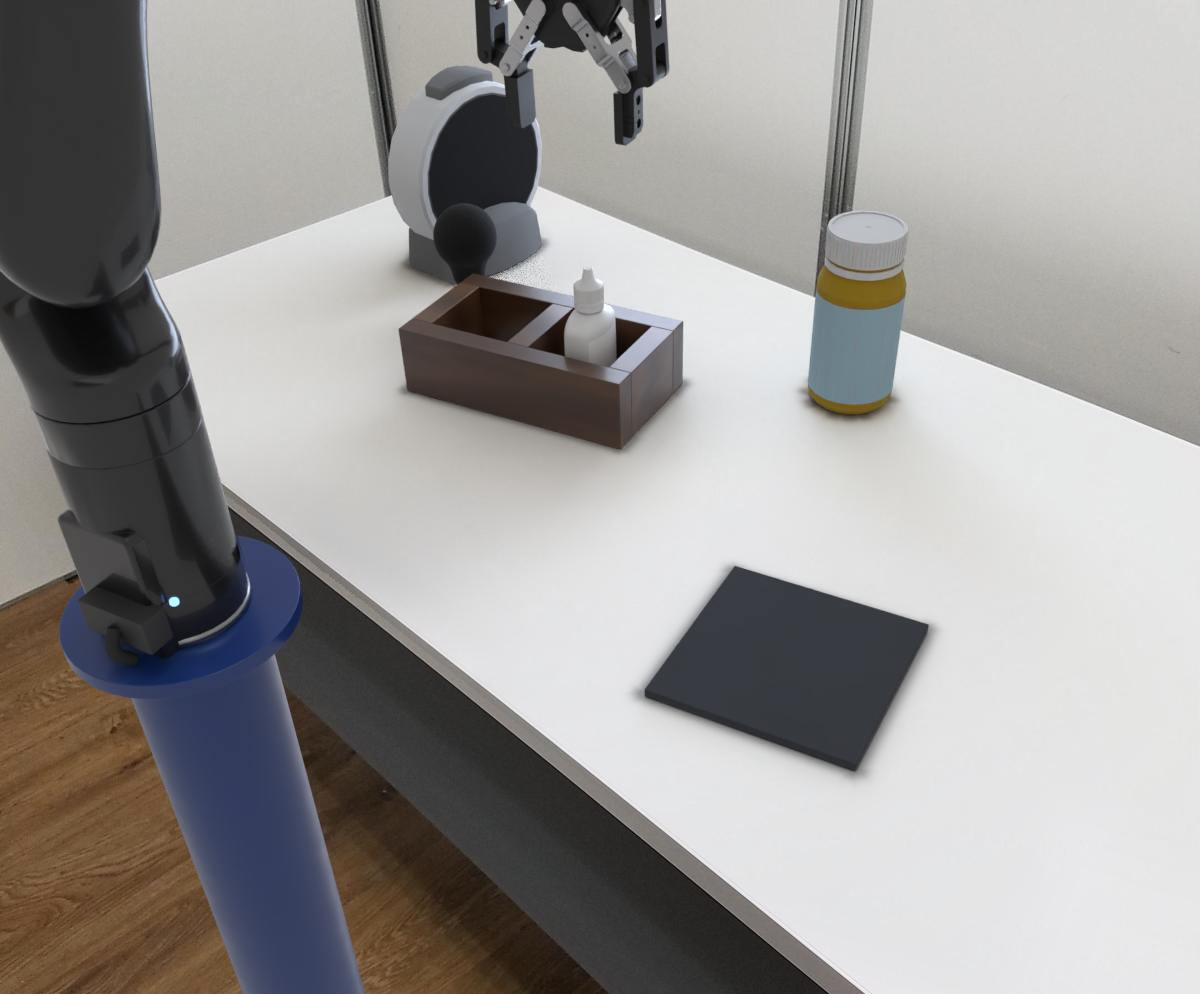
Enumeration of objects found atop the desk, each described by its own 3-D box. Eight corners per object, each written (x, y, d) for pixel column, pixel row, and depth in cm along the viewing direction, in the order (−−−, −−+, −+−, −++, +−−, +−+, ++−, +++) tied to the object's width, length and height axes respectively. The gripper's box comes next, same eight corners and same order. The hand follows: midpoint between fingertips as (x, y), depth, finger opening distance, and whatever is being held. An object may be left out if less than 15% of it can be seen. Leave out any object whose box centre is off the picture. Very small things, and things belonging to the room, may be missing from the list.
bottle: (848, 366, 110) (867, 200, 101) (908, 398, 106) (933, 228, 96) (789, 392, 107) (803, 224, 98) (848, 427, 103) (868, 254, 93)
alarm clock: (449, 295, 123) (427, 105, 111) (383, 266, 128) (356, 81, 117) (566, 241, 132) (557, 59, 120) (500, 215, 137) (485, 39, 125)
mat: (855, 771, 74) (856, 764, 74) (644, 696, 80) (644, 689, 79) (927, 630, 84) (929, 624, 83) (734, 571, 89) (734, 565, 89)
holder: (620, 449, 101) (619, 384, 97) (407, 390, 109) (397, 328, 106) (682, 383, 109) (683, 320, 105) (478, 333, 117) (472, 272, 113)
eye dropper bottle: (634, 399, 107) (632, 268, 99) (579, 421, 105) (573, 288, 97) (605, 378, 110) (601, 249, 102) (551, 399, 108) (543, 268, 100)
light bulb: (456, 289, 124) (445, 190, 118) (511, 296, 123) (503, 196, 116) (431, 316, 120) (419, 215, 113) (489, 324, 118) (479, 222, 112)
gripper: (438, -113, 82) (465, 136, 92) (632, -97, 76) (637, 166, 87) (499, -136, 87) (518, 103, 97) (686, -123, 81) (685, 129, 92)
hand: (574, 133), depth 92 cm, fingers open, 8 cm apart
